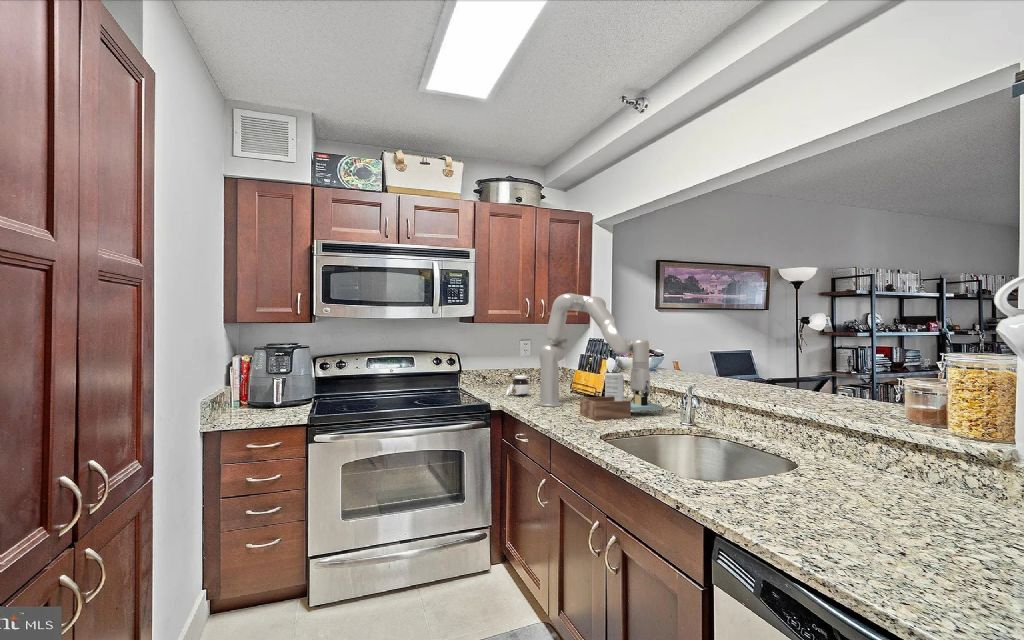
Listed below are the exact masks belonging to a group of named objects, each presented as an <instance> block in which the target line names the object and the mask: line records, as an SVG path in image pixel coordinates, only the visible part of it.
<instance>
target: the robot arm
mask: <svg viewBox="0 0 1024 640" xmlns="http://www.w3.org/2000/svg"><path fill="white" fill-rule="evenodd" d="M568 311H575V312H576V311H577V312H584V313H588V315H589V316H590V318H591V319H592V320H593V321H594V323H595V324H596V326H598V328H599V331H600V332H601V335H602V336H603V339H604V340H605V341H606V344H607V345H609V347H610V348H611V349H612V351H613V352H614V353H615V354H617V355H619V356H624V355H630V354H631V355H632V359H631V360H632V362H631V363H632V365H631V366H632V367H631V372H630V377H629V378H630V381H629V382H630V383H629V388H630V389H631V390H632V395H633V403H634V404H635V394H640V392H641V395H642V397H641V405H642V406H645V405H648V402H649V401H648V400H649V399H648V397H649V395H650V393H651V392H652V388H651V373H650V341H649V340H648V339H631V338H630V339H629V338H624V337H623V336H622V334H621V333H620V332H619V331H618V328H617V327H616V320H615V317H614V316H613V315H612V314H611V312H610V311H609V310H608V308H607V303H606V301H605V300H604V298H602V297H599V296H589V295H582V294H577V293H571V292H569V293H563V294H560V295H559V296H557V297H556V298H555V299H554V301H553V303H552V307H551V311H550V315H549V316H550V317H549V319H548V320H549V321H548V324H547V328H546V333H545V336H546V338H547V340H548V341H549V342H551V343H548V344H544V345H543V346H542V347H541V348H540V350H539V351H538V352H539V354H538V355H539V364H540V365H539V366H540V393H539V394H540V396H539V399H540V400H539V401H537V405H538V406H540V407H550V408H551V407H552V408H553V407H562V404H563V403H562V402H561V401H560V399H559V398H560V397H559V396H560V368H559V362H560V361H562V360H563V359H564V358H565V357H566V355H567V350H568V347H569V346H568V345H569V341H570V337H571V332H570V328H569V326H567V325H566V321H567V317H568Z"/></svg>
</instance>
